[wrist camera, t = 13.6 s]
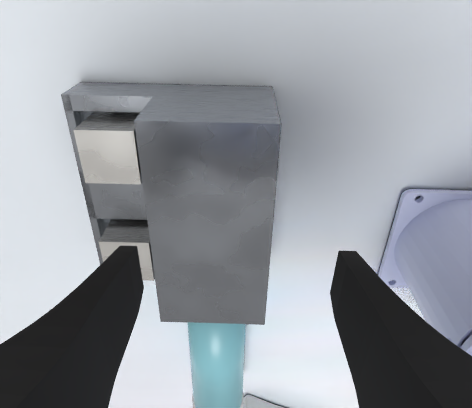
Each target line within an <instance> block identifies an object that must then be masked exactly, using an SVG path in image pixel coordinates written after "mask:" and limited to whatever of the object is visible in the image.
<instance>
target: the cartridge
mask: <svg viewBox="0 0 472 408" xmlns="http://www.w3.org/2000/svg"><path fill="white" fill-rule="evenodd" d="M188 333H189V346H190V359H191V372H192V384H193V397H192V401H193V408H243V398H244V396H243V370H244V347H245V324H227V323H194V322H188Z"/></svg>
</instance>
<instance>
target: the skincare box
mask: <svg viewBox="0 0 472 408" xmlns="http://www.w3.org/2000/svg"><path fill="white" fill-rule="evenodd" d="M243 408H284V407H281V406H278V405H274V404H272V403H269V402H266V401H264V400H261V399H259V398H257V397H254V396H251V395H246V396H245V397H244V398H243Z"/></svg>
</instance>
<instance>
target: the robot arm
mask: <svg viewBox="0 0 472 408" xmlns="http://www.w3.org/2000/svg"><path fill="white" fill-rule="evenodd" d="M420 195H421V197H420V198H419V199H416V200H415V198H416V197H417V196H420ZM390 280H393V281H390ZM389 287H403V288H409V290H410V292H411V294H412V295H413V297H414V299H415V301H416V303H417V305H418V307H419V309H420V311H421V313H422V315H423V317H424V319H425V320H426V321H425V320H423V319H422V318H421V317H420V316H419V315H418V314H416V313H415V312H414V311H413V310H412V309H411V308H410V307H409V306H408V305H407V304H406V303H405V302H403V301H402V300H401V299H400V298H399V297H398V296H397V295H396V294H395V293H394V292H393V291H392V290H391V289H390V288H389ZM143 289H144V286H143V280H142V274H141V267H140V261H139V255H138V248H137V246H119V247H118V248H117V249H116V250H115V251H114V252H113V253H112V254H111V255H110V256H109V257H108V258H107V259H106V260H105V261H104V262H103V263H102V264H101V265H100V266H99V267H98V268H97V269H96V270H95V271H94V272H93V273H92V274H91V275H90V276H89V277H88V278H87V279H86V280H85V281H84V282H82V283H81V284H80V285H79V286H78V287H77V288H76V289H75V290H74V291H73V292H71V293H70V294H69V295H68V296H67V297H66V298H65V299H63V300H62V301H61V302H60V303H59V304H58V305H56V306H55V307H54V308H53V309H51V310H50V311H49V312H47V313H46V314H45V315H43V316H42V317H41V318H39V319H38V320H37V321H35V322H34V323H32V324H31V325H30V326H28V327H27V328H25V329H23V330H22V331H20V332H19V333H17V334H16V335H14V336H13V337H11V338H10V339H8V340H6V341H5V342H3V343H2V344H0V408H108V405H109V401H110V397H111V393H112V389H113V385H114V382H115V378H116V375H117V372H118V369H119V366H120V364H121V361H122V358H123V355H124V352H125V350H126V347H127V344H128V341H129V338H130V336H131V333H132V330H133V327H134V324H135V321H136V319H137V316H138V312H139V308H140V304H141V299H142V294H143ZM330 295H331V301H332V307H333V313H334V318H335V322H336V325H337V329H338V332H339V335H340V339H341V342H342V345H343V348H344V352H345V355H346V358H347V361H348V365H349V368H350V371H351V374H352V378H353V382H354V385H355V389H356V394H357V399H358V404H359V408H472V191H466V190H427V189H408V190H406V191H404V192H403V193H402V195H401V197H400V201H399V204H398V208H397V211H396V215H395V218H394V222H393V225H392V228H391V232H390V235H389V239H388V242H387V246H386V249H385V253H384V256H383V259H382V263H381V266H380V270H379V273H378V275H377V274H376V273H375V272H374V271H373V269H372V268H371V267H370V266H369V265H368V264H367V263H366V262H365V261H364V259H363V258H362V257H361V256H360V255H359V254H358V253H357V252H356V251H339V252H338V257H337V262H336V267H335V272H334V276H333V281H332V286H331V291H330Z"/></svg>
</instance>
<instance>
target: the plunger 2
mask: <svg viewBox="0 0 472 408" xmlns="http://www.w3.org/2000/svg"><path fill="white" fill-rule="evenodd" d="M99 246H100V250H101V255H102V259H103V262H104V261H105V260H106V259H107V258H108V257H109V256H110V255H111V254H112V253H113V252H114V251H115V250H116V249H117V248H118V247H119V246H137V248H138V255H139V261H140V267H141V274H142V280H154V278H155V274H154V266H153V259H152V251H151V244H150V236H149V229H148V221H147V220H134V219H111V220H110V222H109V224H108V226H107V227H106V229H105V231H104V233H103V235H102V236H101V238H100V240H99Z"/></svg>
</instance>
